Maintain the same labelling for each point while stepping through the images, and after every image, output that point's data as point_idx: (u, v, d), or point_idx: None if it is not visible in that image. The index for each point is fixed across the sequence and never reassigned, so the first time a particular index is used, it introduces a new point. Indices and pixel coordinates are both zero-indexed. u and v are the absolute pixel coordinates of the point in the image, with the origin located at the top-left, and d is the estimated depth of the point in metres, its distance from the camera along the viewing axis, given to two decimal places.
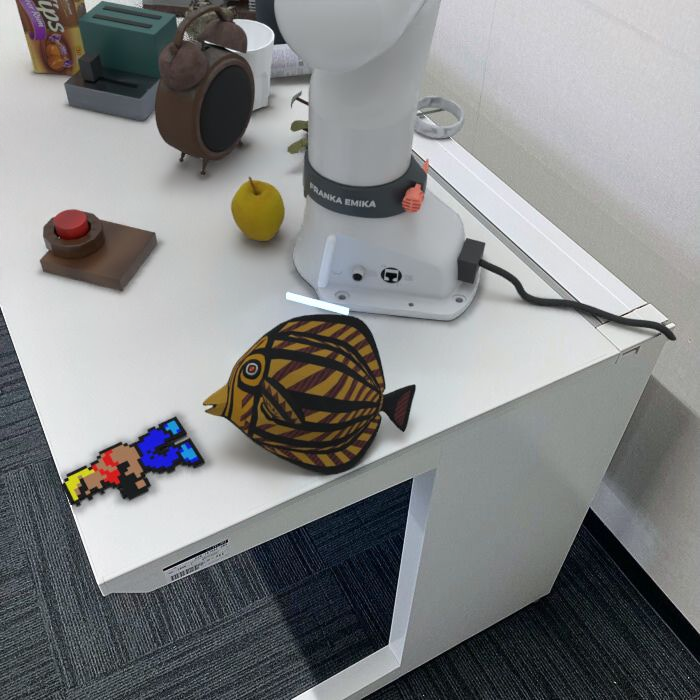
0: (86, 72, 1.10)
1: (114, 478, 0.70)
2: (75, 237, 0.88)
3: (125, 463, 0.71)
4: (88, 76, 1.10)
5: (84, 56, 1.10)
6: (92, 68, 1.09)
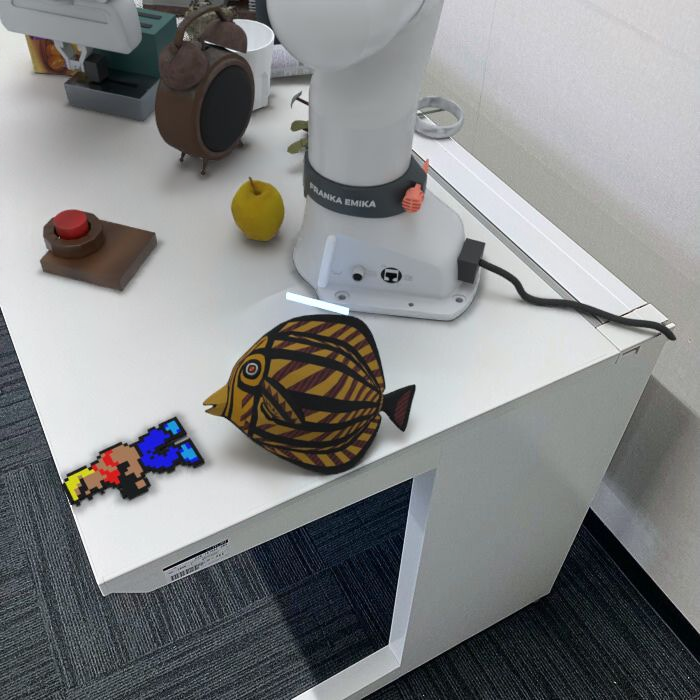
0: (91, 73, 1.10)
1: (114, 478, 0.70)
2: (75, 237, 0.88)
3: (125, 463, 0.71)
4: (94, 77, 1.10)
5: (90, 57, 1.09)
6: (98, 69, 1.09)
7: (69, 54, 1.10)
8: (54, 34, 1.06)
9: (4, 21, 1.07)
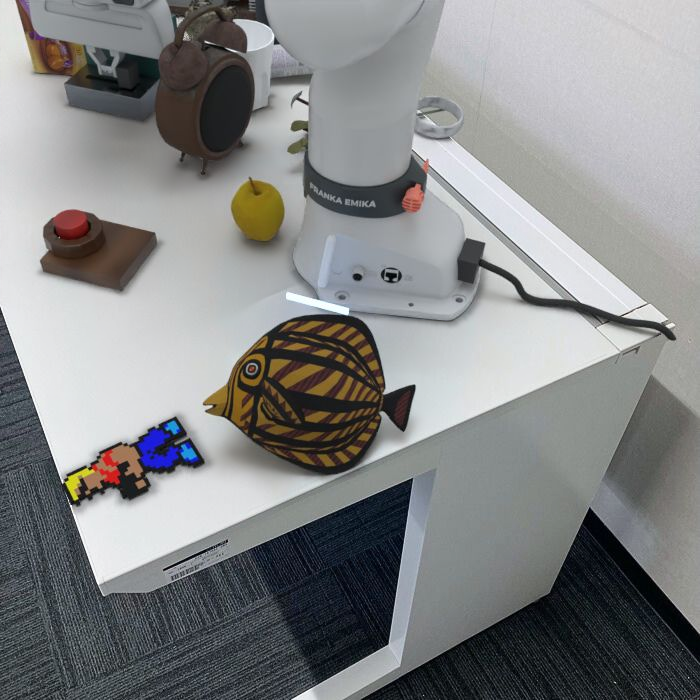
0: (123, 80, 1.09)
1: (114, 478, 0.70)
2: (75, 237, 0.88)
3: (125, 463, 0.71)
4: (125, 84, 1.09)
5: (122, 64, 1.09)
6: (129, 76, 1.09)
7: (101, 59, 1.09)
8: (87, 39, 1.05)
9: (36, 26, 1.06)
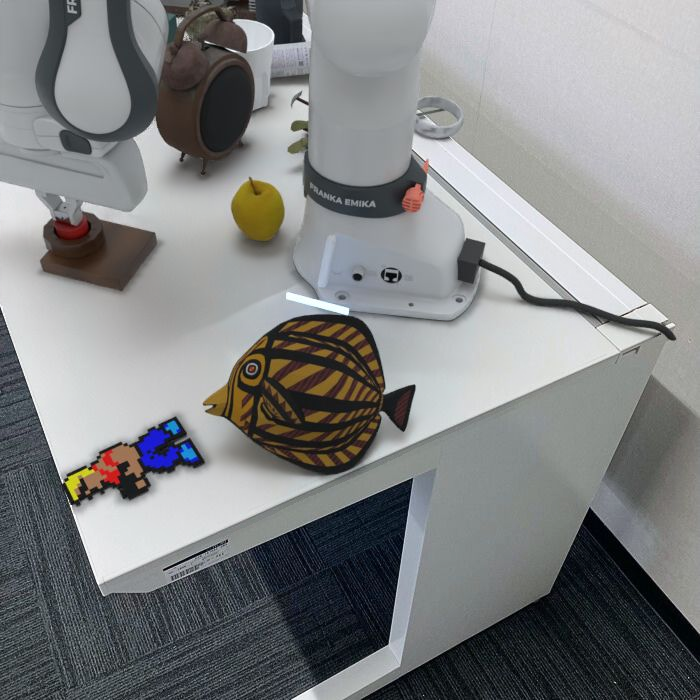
0: None
1: (114, 478, 0.70)
2: None
3: (125, 463, 0.71)
4: None
5: None
6: None
7: (55, 203, 0.86)
8: (35, 184, 0.83)
9: None
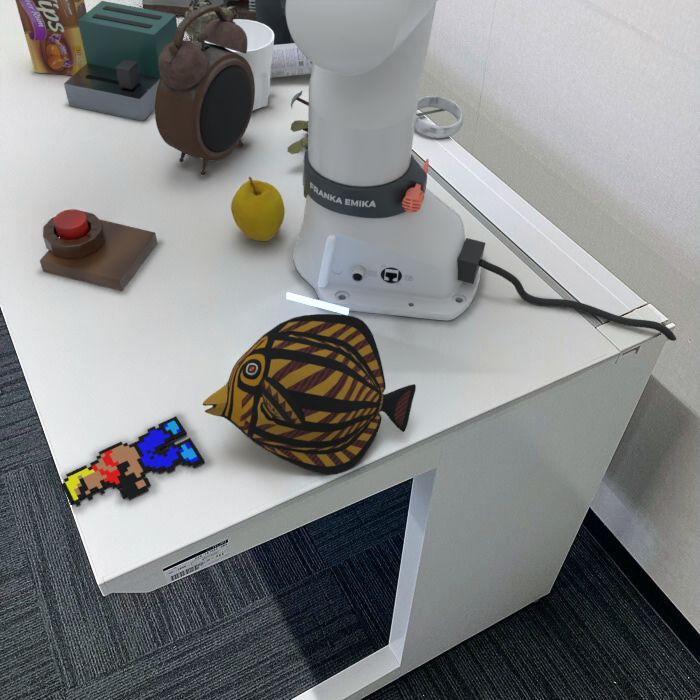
0: (123, 80, 1.09)
1: (114, 478, 0.70)
2: (75, 237, 0.88)
3: (125, 463, 0.71)
4: (126, 84, 1.09)
5: (122, 64, 1.09)
6: (130, 76, 1.08)
7: None
8: None
9: None
